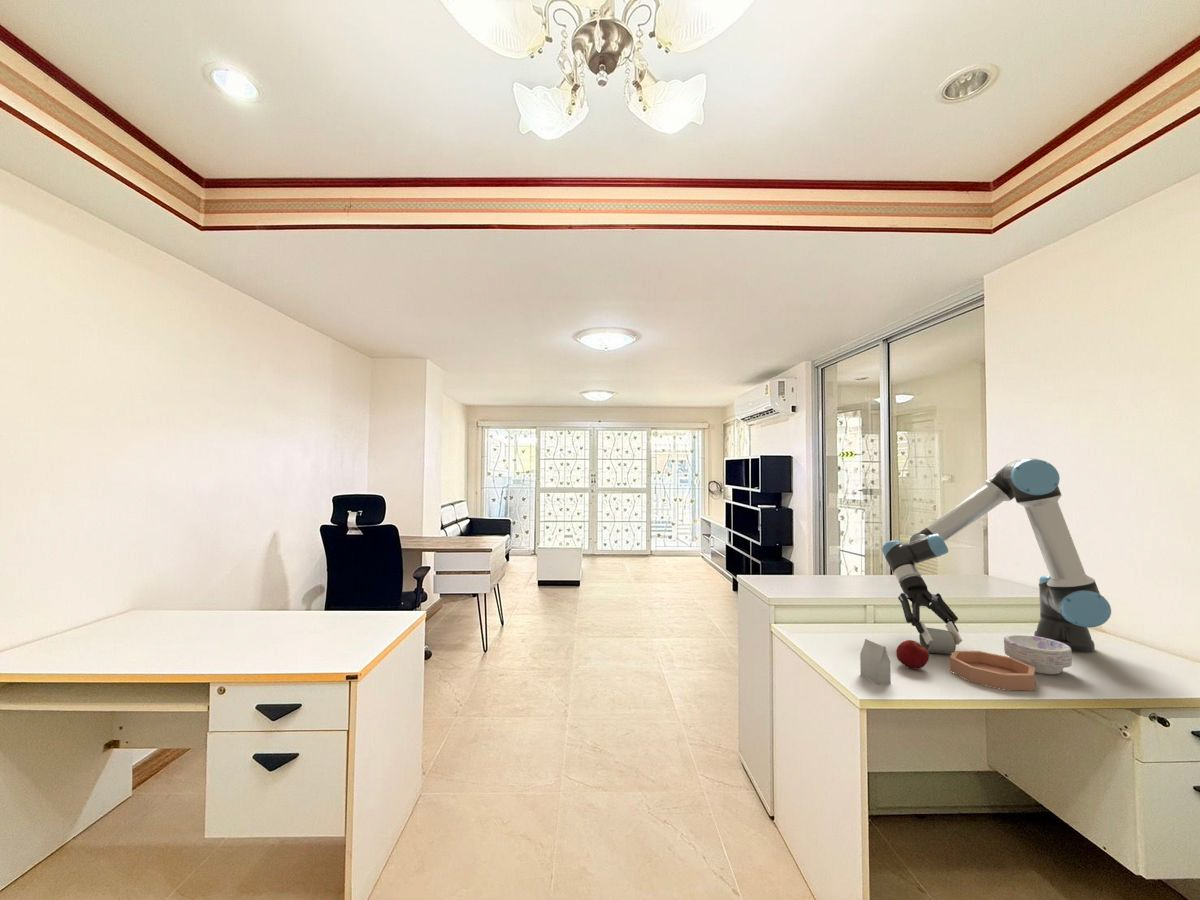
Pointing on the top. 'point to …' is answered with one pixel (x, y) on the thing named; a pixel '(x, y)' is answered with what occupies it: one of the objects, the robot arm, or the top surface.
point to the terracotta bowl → (993, 670)
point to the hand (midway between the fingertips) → (944, 642)
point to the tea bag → (875, 663)
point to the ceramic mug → (939, 641)
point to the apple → (912, 654)
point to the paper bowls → (1039, 653)
